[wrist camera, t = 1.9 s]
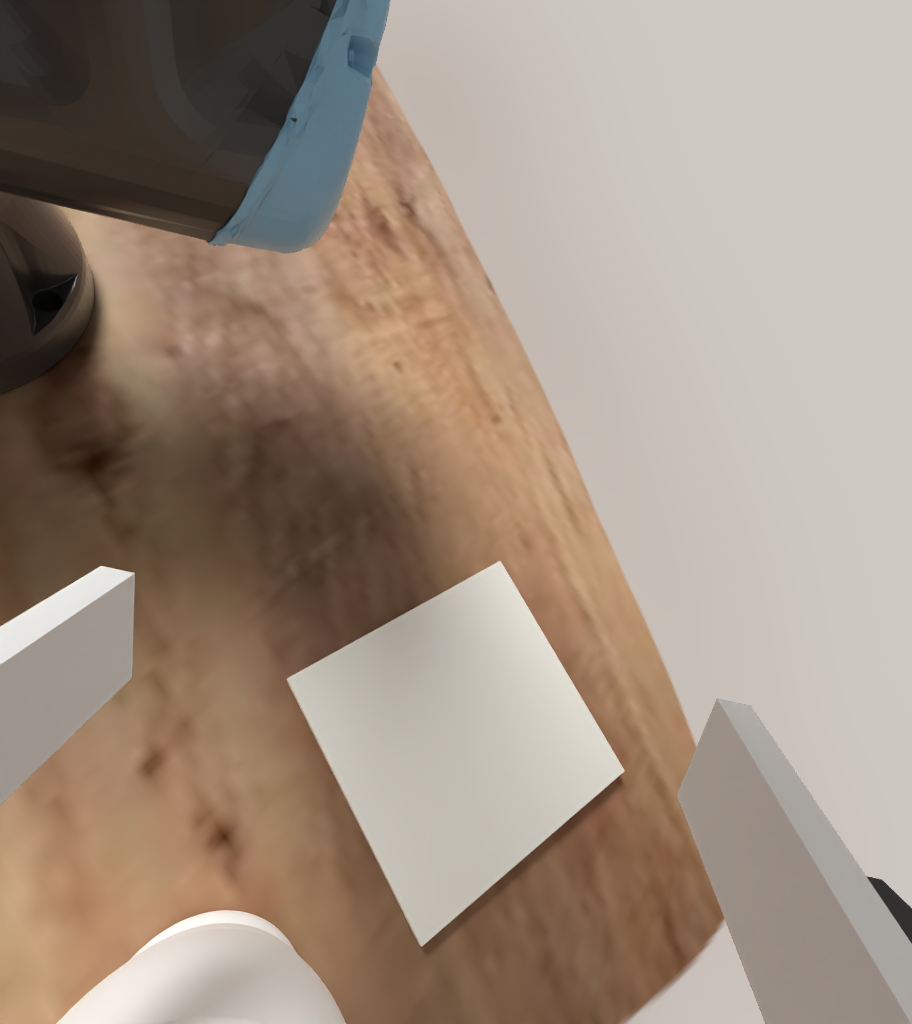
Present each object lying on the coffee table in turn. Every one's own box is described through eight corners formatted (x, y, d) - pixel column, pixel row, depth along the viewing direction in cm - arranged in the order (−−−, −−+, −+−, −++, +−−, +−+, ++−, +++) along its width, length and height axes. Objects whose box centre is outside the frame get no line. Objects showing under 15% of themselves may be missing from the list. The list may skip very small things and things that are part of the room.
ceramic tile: (286, 680, 30) (286, 678, 29) (495, 564, 36) (500, 560, 35) (417, 941, 27) (421, 947, 27) (617, 770, 34) (624, 770, 33)
